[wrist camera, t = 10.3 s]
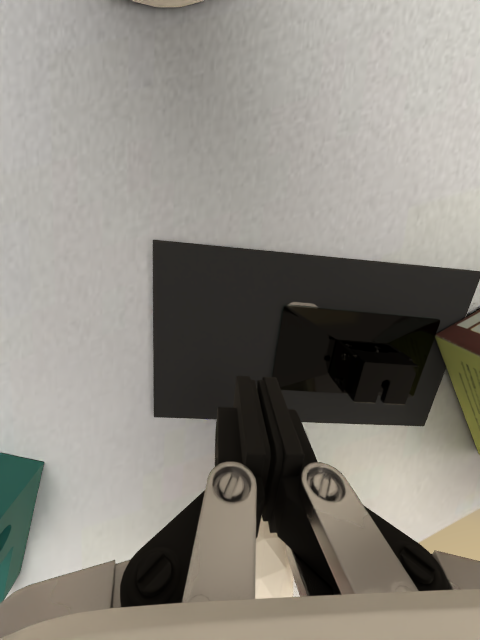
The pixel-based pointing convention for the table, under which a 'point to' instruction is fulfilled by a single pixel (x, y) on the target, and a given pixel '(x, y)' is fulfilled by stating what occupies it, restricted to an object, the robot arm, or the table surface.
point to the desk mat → (264, 321)
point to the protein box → (464, 367)
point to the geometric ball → (271, 566)
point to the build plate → (352, 352)
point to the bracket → (15, 513)
